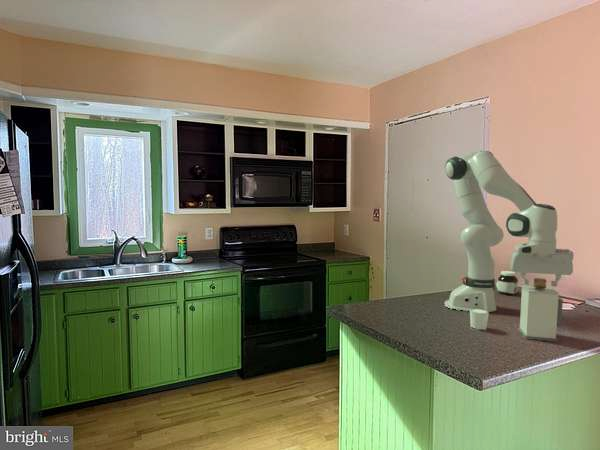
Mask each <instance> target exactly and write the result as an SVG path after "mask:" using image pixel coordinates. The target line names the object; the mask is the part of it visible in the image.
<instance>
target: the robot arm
mask: <svg viewBox="0 0 600 450" xmlns="http://www.w3.org/2000/svg"><path fill="white" fill-rule="evenodd" d="M444 165H445V166H444V170H445V175H446V176H447V177H448V178H449V179H450V180H453V181H454V182H453V183H454V184H453V185H454V191H455V195H456V199H457V202H458V206H459V208H460V212H461V214H462V217H463V218H465V219H466V221H467V222H468V223H469V226H467V227H465V228H464V229H463V230H462V231H461V234H460V241H461V244H462V245H463V246H464V247H465V251H466V254H467V260H468V263H467V265H468V267H467V276H464V275H462V276H461V277H460V278H461V280H462V284H461V285H459V286H458V287H456V288H455V289H453V290H452V291H451V293H450V295H449V299H446V300H445V301H444V304H445V305H444V307H445V306H446V307H448V308H450V309H449V310H452V309H456V310H455V311H460V310H463V311H462V312H468V311H469V313H470V310H471V309H482V310H486V311H488V312H489V313H490V312H491V313H492V312H495V311H497V309H498V308H497V305H496V299H495V289H496V279H495V265H496V264H495V260H494V258H493V257H492V254H491V247H495V246H497V245H498V244H500V243H501V242H502V241H503V239H504V231H503V228H502V227H500V226H499V225H498V223H496V220H495V219H494V217H493V216H492V214H491V212H490V211H489V208H488V206H487V203H486V201H485V198H484V194H483V192H482V189H483V190H484V192H486V193H487V194H490V195H493V196H496V197H501V198H504V199H507V200H509V201H510V202H512V203H513V204H514V205H515V206H516V208H517V209H518V210H519V211H517V212H512V213H511V214H509V216H508V217H507V219H506V222H505V227H506V231H507V232H508V233H509V234H510V235H511V236H512V237H513V236H514V237H516V238H524V237H525V238H528V241H527V242H524V243H520V244H517V245H515V246H514V252H513V253H512V255H511V257H510V263H509V269H510V271H512V272H515V273H519V274H520V277H521V278H522V285H525V286H529V281H530V280H529V279H528V278H527V279H526V277H525V276H526V275H527V274H546V275H554V276H555V278H554V280H551V281H550V282H551V283H550V285H551V286H552V287H557V286H558V282H559V281H561V279H562V276H566V275H567V276H571V275H573V273H574V265H573V261H574V252H573V251H572V250H570V249H568V248H567V249H566V248H563V249H562V248H557V236H556V233H557V230H558V212H557V209H556V207H554V206H553V205H550V204H545V203H544V204H543V203H537V202H536V201H535V200H534V199H533V198H532V197H531V196H530V194H528V192H527V191H526V190H525V189H524V187H522V186H521V184H519V183H518V182H516V181H515V179H514V178H512V177H511V175H510V174H509V172H508V171H506V169H505V168H504V167H503V165H502V164H501V162H500V161H499V160H498V159H497V158H496V157H495V155H494V154H493V153H492V152H491V151H489V150H480V151H474V152H467V153H464V154H461V155H458V156H452V157H451V158H449V159H447V161H446V162H445V164H444ZM551 286H550V287H551ZM446 307H445V308H446ZM448 308H447V309H448Z"/></svg>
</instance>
